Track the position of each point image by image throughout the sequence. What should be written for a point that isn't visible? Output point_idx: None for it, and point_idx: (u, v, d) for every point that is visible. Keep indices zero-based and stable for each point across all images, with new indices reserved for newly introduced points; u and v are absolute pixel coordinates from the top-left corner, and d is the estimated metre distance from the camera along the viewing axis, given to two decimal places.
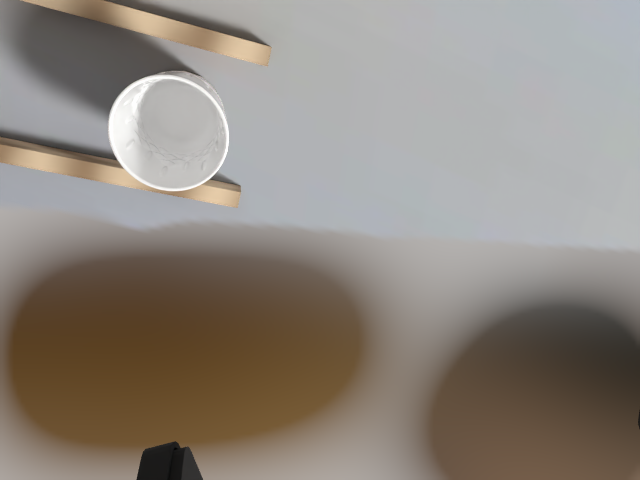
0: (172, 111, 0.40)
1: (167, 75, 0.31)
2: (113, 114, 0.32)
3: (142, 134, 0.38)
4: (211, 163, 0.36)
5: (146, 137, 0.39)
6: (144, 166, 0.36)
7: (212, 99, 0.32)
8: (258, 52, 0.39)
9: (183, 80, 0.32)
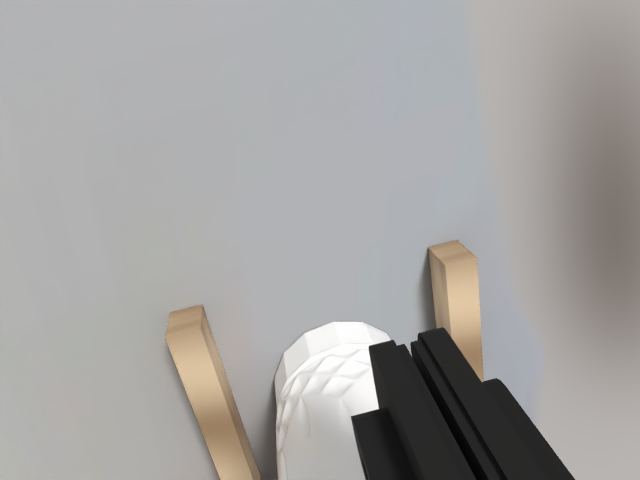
0: None
1: None
2: None
3: None
4: None
5: None
6: None
7: None
8: (186, 351, 0.21)
9: None
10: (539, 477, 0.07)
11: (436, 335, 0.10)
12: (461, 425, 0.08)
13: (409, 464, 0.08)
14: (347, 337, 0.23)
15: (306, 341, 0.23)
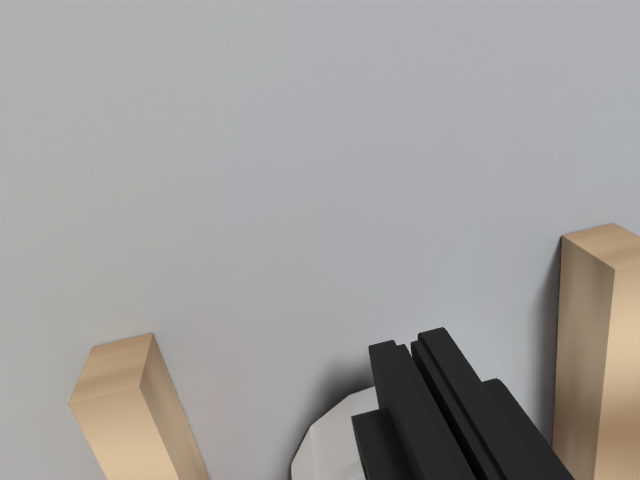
0: None
1: None
2: None
3: None
4: None
5: None
6: None
7: None
8: (113, 428, 0.11)
9: None
10: (539, 477, 0.07)
11: (436, 335, 0.10)
12: (461, 425, 0.08)
13: (409, 464, 0.08)
14: None
15: (353, 415, 0.13)
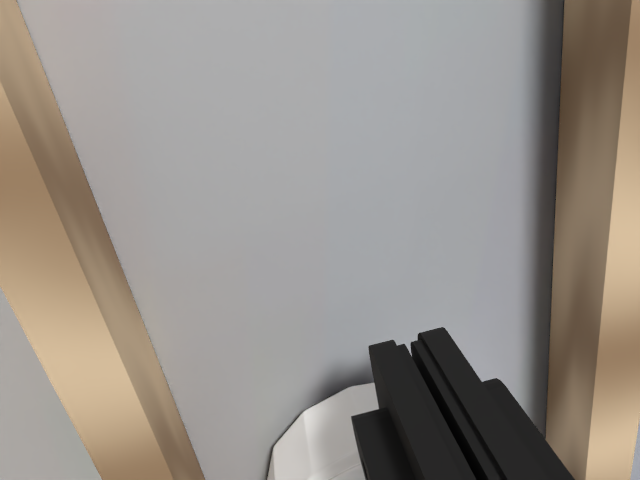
0: None
1: None
2: None
3: None
4: None
5: None
6: None
7: None
8: None
9: None
10: (539, 477, 0.07)
11: (436, 335, 0.10)
12: (461, 425, 0.08)
13: (409, 464, 0.08)
14: None
15: (354, 407, 0.13)
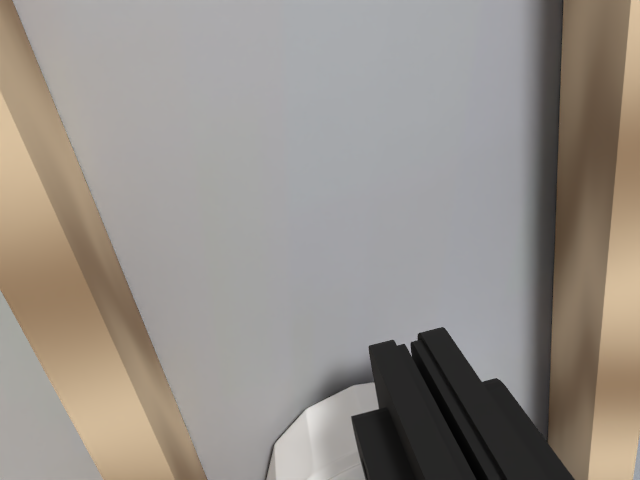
0: None
1: None
2: None
3: None
4: None
5: None
6: None
7: None
8: None
9: None
10: (538, 477, 0.07)
11: (436, 335, 0.10)
12: (461, 425, 0.08)
13: (409, 464, 0.08)
14: None
15: (358, 405, 0.13)
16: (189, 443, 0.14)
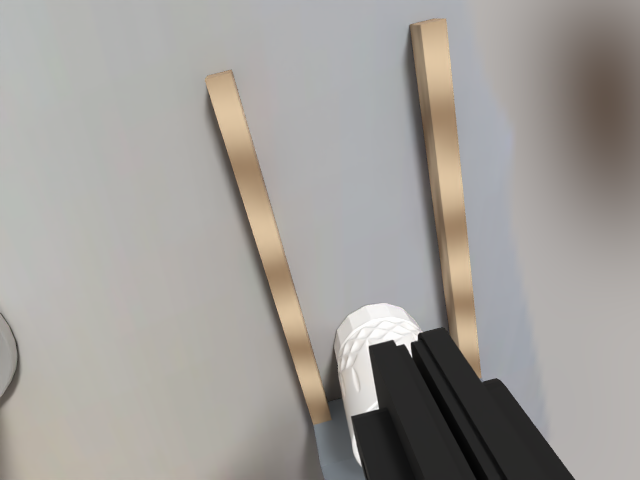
0: None
1: (352, 446, 0.29)
2: None
3: None
4: None
5: None
6: None
7: (371, 408, 0.28)
8: (221, 93, 0.27)
9: None
10: (539, 477, 0.07)
11: (436, 335, 0.10)
12: (461, 425, 0.08)
13: (409, 464, 0.08)
14: (394, 313, 0.36)
15: (366, 310, 0.36)
16: (306, 330, 0.37)
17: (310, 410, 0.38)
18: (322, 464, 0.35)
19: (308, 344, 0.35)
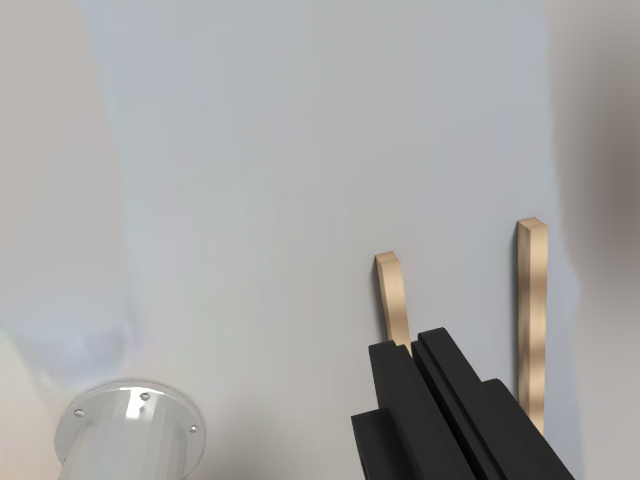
0: None
1: None
2: None
3: None
4: None
5: None
6: None
7: None
8: (391, 274, 0.39)
9: None
10: (539, 477, 0.07)
11: (436, 335, 0.10)
12: (461, 425, 0.08)
13: (409, 464, 0.08)
14: None
15: None
16: None
17: None
18: None
19: None
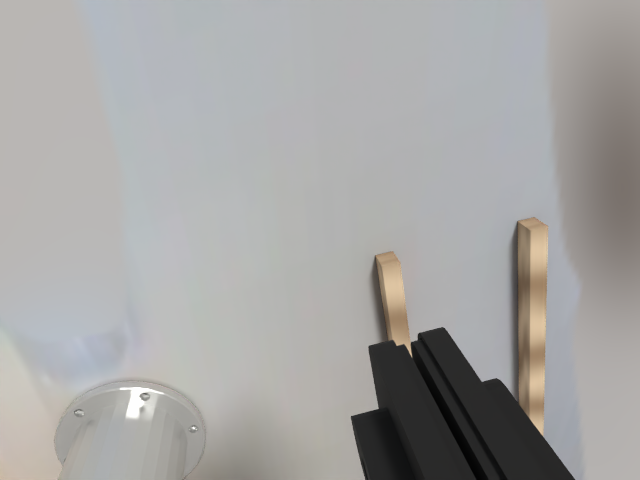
0: None
1: None
2: None
3: None
4: None
5: None
6: None
7: None
8: (391, 274, 0.39)
9: None
10: (539, 477, 0.07)
11: (436, 335, 0.10)
12: (461, 425, 0.08)
13: (409, 464, 0.08)
14: None
15: None
16: None
17: None
18: None
19: None
